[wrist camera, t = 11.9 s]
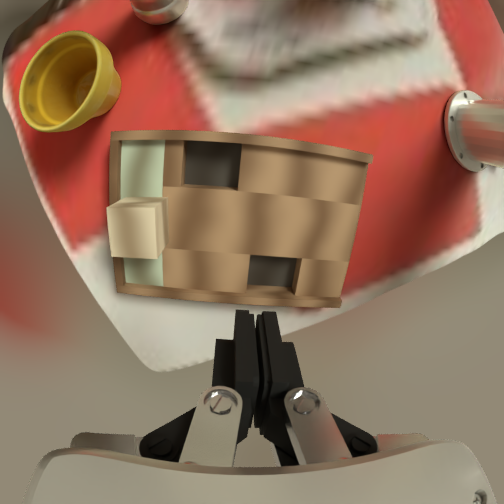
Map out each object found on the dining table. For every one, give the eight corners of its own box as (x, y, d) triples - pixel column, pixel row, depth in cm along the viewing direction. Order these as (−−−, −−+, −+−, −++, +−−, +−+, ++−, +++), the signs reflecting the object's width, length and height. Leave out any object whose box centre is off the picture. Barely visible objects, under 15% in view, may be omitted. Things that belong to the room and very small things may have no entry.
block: (168, 197, 28) (154, 207, 24) (169, 241, 30) (157, 259, 26) (125, 196, 28) (106, 207, 23) (128, 239, 30) (111, 256, 25)
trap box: (360, 153, 30) (373, 154, 27) (332, 294, 37) (339, 307, 34) (123, 132, 27) (110, 131, 24) (125, 279, 34) (117, 292, 31)
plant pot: (148, 55, 24) (116, 26, 15) (123, 136, 28) (82, 136, 19) (79, 53, 23) (36, 35, 13) (58, 127, 26) (9, 130, 17)
